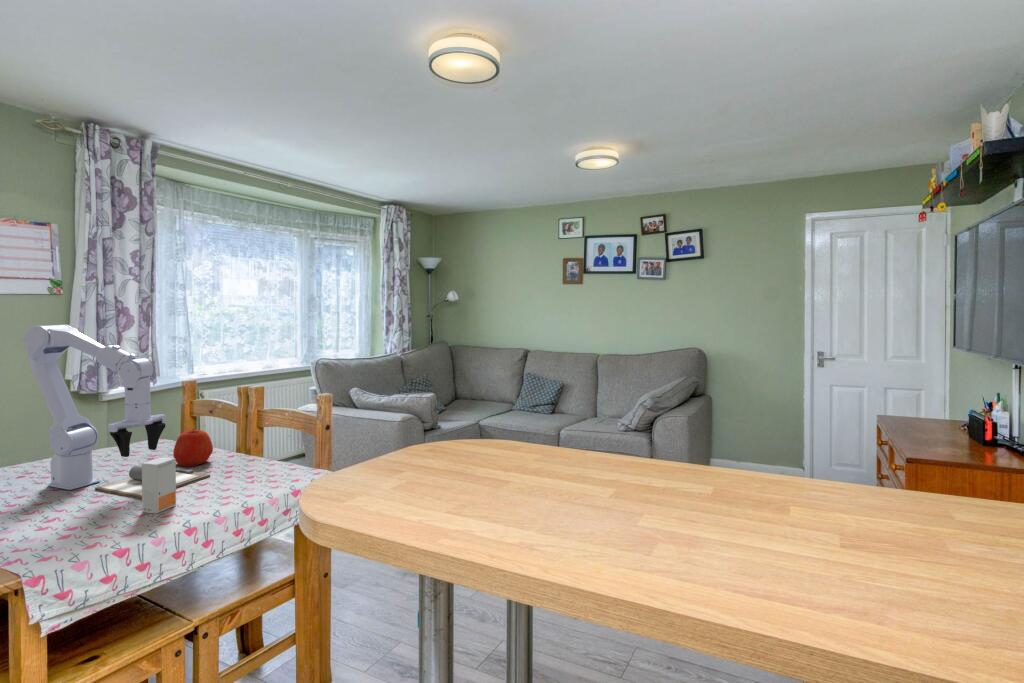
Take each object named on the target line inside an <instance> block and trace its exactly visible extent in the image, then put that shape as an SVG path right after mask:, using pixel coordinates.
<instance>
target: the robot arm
mask: <svg viewBox="0 0 1024 683" xmlns="http://www.w3.org/2000/svg"><path fill="white" fill-rule="evenodd" d="M21 340H22V342H23V345H24V347H25V349H26V351H27V362H28V364H29V367H30V369H31V372H32V374H33V377H34V380H35V381H36V384H37V386H38V388H39V390H40V392H41V395H42V397H43V399H44V402H45V404H46V407H47V409H48V411H49V413H50V414H49V415H50V416H51V418H52V420H53V423H52V424H51V426H50V428H49V429H48V430H47V434H48V437H49V447H50V449H51V451H52V452H53V453H54V455H53V456H52V458H51V460H50V463H49V464H50V483H47V486H48V487H52V488H58V489H63V490H67V491H70V490H71V491H72V490H77V489H80V488H82V487H86V486H90V485H93V484H96V483H99V482H102V481H101V479H99V478H95V477H93V476H94V473H93V451H92V450H94V448H95V445H96V444H97V443H98V441H99V437H100V436H99V431H98V429H97V428H96V427H95V426H93V424H92V423H91V421H90V419H89V418H88V417H86V416H83V415H81V414H79V412H78V409H77V407H76V404H75V402H74V400H73V398H72V395H71V392H70V391H69V388H68V386H67V383H66V381H65V378H64V377H63V375H62V374H63V373H62V372H61V369H60V367H59V364H58V363H57V361H58V360H59V358H60V357H61V356H62V355H63V354H64V353H65V352H66V351H67V350H68V349H69V348H70V347H71V348H74V349H76V350H79V351H81V352H83V353H86V354H88V355H91V356H93V357H95V358H96V361H97V364H99V365H101V366H102V367H105V368H108V369H109V370H111V371H113V372H115V373H118V376H119V378H120V379H121V380H122V386H123V387H124V412H125V413H124V415H125V416H124V418H125V419H123V420H120V421H116V422H112V423H109V424H108V426H107V427H108V429H107V431H108V432H109V435H110V436H111V437H112V439H113V440H114V442H115V443H116V446H117V448H118V450H119V453H120V457H123V458H129V457H130V453H131V450H130V448H131V447H130V446H131V439H132V435H133V431H128V429H133V428H138V427H142V426H144V428H145V431H146V435H147V447H148V450H151V451H155V450H157V447H158V443H159V439H160V437H161V435H162V433H163V431H164V429H165V428H166V422H167V416H166V414H164V413H163V414H162V413H161V414H154V415H151V414H152V412H151V411H152V410H151V407H152V405H151V403H152V402H151V399H152V398H151V377H152V376H154V373H155V372H156V366H155V363H154V362H153V361H152V360H151V359H149V357H145V356H143V357H142V356H141V357H137V355H136V354H135V353H129V352H128V351H125V350H124V349H122V347H121V346H120V345H118V344H116V345H115V344H113V345H112V344H111V345H110V344H109V345H103V344H101V343H99V342H97V341H96V340H94V339H93V338H91V337H89V336H87V335H86V334H83V333H82V332H80V331H79V330H78V328H77V327H72V326H71V325H69V324H64V323H62V324H53V325H31V326H30V327H28V328H27V330H25V333H24V335H23V336H22V338H21Z"/></svg>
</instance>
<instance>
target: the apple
mask: <svg viewBox="0 0 1024 683" xmlns="http://www.w3.org/2000/svg"><path fill="white" fill-rule="evenodd" d="M213 452H214V446H213V443H212V439H211V437H210V435H209V434H208V433H207V431H204V430H199V429H191V430H186V431H183V432H182V433H180V434H179V436H178V437H177V440H176V442H175V444H174V447H173V452H172V453H173V458H175V459H176V465H179V466H181V467H182V466H183V467H194V466H198V465H201V464H203V463H206V462H207V461H208V460H209V458H210V456H211V455H212V454H213Z"/></svg>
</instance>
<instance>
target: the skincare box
mask: <svg viewBox="0 0 1024 683" xmlns="http://www.w3.org/2000/svg"><path fill="white" fill-rule="evenodd" d="M176 465H177V462H176V459H175V458H174V457H159V458H156V459H152V460H149V461H146V462H144V463H143V462H142V463H141V467H142V499H141V501H142V502H141V504H142V506H141V508H142V510H141V511H142V513H146V514H154V515H155V514H159V513H161V512H164V511H166V510H168V509H170V508H173V507H176V505H177V488H176V468H177V467H176Z"/></svg>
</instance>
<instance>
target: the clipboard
mask: <svg viewBox="0 0 1024 683" xmlns="http://www.w3.org/2000/svg"><path fill="white" fill-rule="evenodd" d="M210 477H211V474H207V473H202V472H196V471H194V469H188V468H183V467H176V489H177V488H181V487H183V486H186V485H190V484H192V482H193V483H195V481H196V482H199V481H201V479H202V480H205V479H208V478H210ZM204 478H205V479H204ZM198 480H199V481H198ZM189 483H190V484H189ZM94 490H95V491H98V490H99V492H103V491H104V492H103V493H108V492H110V493H109V494H113V493H114V494H115V495H118V494H119V496H124V497H129V498H134V499H141V500H142V481H141V480H136V479H131V478H130V477H127V478H123V479H120V480H117V481H114V482H110V483H109V482H108V483H106V484H103V485H99V486H97V487H94Z"/></svg>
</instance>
